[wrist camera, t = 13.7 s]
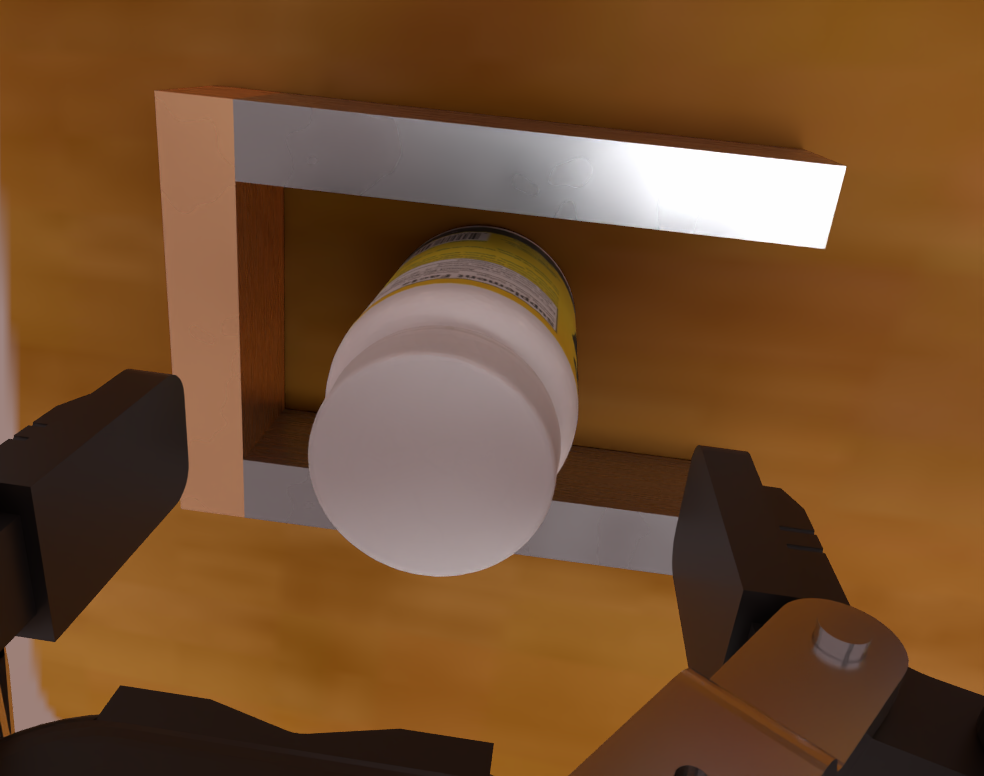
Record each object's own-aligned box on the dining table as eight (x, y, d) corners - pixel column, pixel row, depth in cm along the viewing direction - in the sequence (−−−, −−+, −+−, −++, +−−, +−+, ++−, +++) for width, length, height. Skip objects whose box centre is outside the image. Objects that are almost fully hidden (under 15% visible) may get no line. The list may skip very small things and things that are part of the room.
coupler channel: (216, 85, 19) (154, 90, 16) (804, 149, 18) (846, 166, 15) (229, 453, 22) (180, 508, 20) (716, 517, 22) (737, 583, 19)
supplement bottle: (521, 432, 21) (492, 644, 14) (361, 351, 21) (237, 523, 13) (613, 277, 20) (638, 421, 12) (440, 186, 19) (349, 273, 11)
